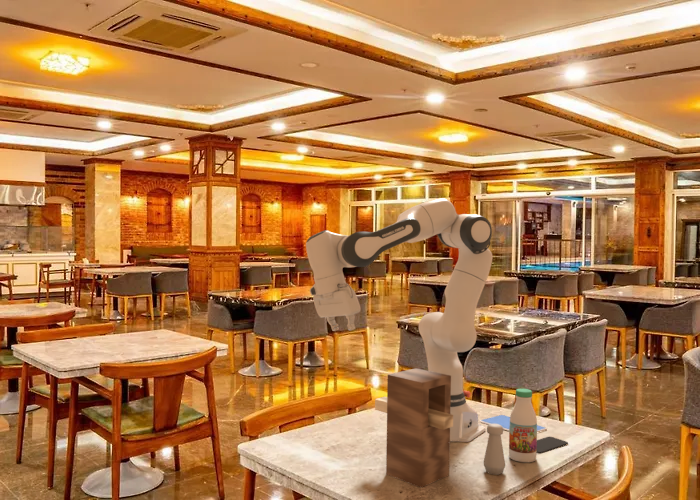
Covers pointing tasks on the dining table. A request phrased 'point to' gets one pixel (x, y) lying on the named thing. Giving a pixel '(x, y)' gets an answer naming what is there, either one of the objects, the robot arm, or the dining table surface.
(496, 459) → the salt shaker
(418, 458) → the walnut cabinet
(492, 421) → the tablet computer
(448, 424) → the pine bar
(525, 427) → the milk bottle
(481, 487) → the dining table surface
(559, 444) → the phone
